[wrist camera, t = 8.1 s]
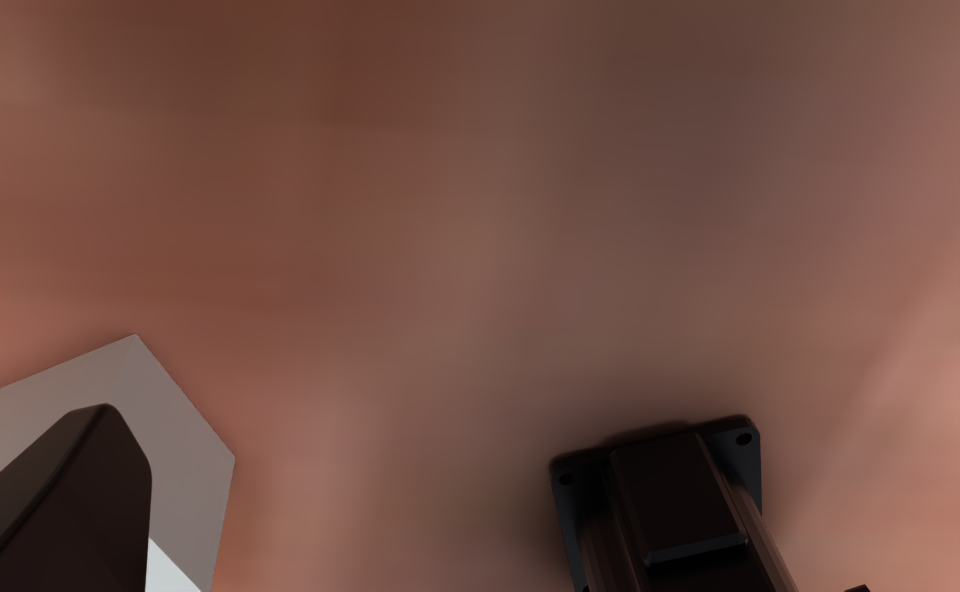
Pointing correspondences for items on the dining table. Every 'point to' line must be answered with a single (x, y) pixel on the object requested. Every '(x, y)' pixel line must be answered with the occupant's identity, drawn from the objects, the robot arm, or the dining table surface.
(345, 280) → the dining table surface
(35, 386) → the grey block
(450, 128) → the dining table surface
